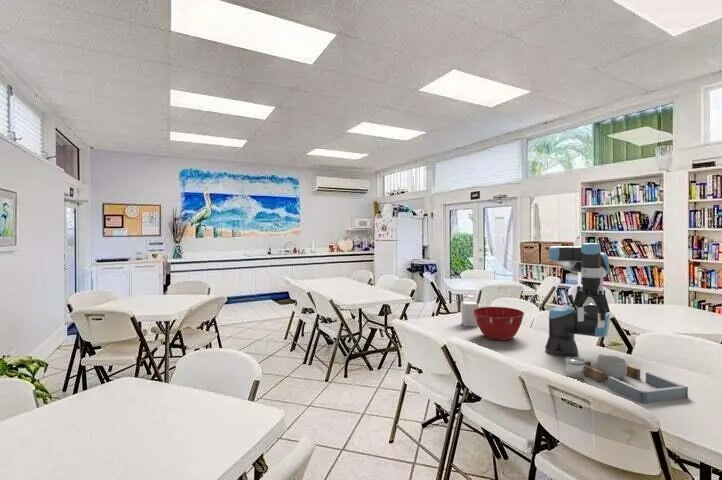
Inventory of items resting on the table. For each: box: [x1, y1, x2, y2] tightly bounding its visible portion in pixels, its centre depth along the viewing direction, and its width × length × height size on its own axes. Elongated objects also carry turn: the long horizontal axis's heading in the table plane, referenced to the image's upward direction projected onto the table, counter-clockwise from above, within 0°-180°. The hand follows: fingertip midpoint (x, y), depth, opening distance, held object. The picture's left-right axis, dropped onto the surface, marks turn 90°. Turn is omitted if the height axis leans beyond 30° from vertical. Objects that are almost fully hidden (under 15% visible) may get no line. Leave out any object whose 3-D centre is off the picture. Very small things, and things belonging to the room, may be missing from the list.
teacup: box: [596, 354, 628, 381], centre depth 166 cm, size 14×11×8 cm
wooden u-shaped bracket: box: [584, 360, 641, 384], centre depth 168 cm, size 14×19×4 cm
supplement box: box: [461, 301, 479, 327], centre depth 257 cm, size 9×9×15 cm
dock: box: [607, 371, 689, 404], centre depth 150 cm, size 16×20×4 cm
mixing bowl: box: [473, 306, 525, 341], centre depth 227 cm, size 28×28×15 cm
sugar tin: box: [564, 356, 586, 382], centre depth 165 cm, size 7×7×8 cm
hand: (590, 324), depth 176 cm, fingers open, 11 cm apart
